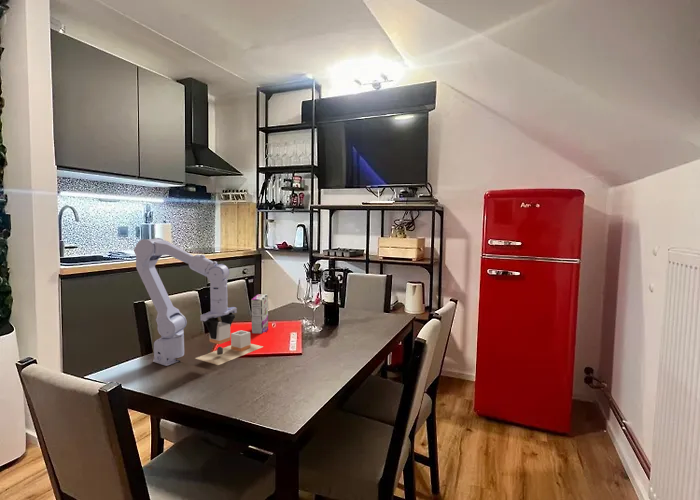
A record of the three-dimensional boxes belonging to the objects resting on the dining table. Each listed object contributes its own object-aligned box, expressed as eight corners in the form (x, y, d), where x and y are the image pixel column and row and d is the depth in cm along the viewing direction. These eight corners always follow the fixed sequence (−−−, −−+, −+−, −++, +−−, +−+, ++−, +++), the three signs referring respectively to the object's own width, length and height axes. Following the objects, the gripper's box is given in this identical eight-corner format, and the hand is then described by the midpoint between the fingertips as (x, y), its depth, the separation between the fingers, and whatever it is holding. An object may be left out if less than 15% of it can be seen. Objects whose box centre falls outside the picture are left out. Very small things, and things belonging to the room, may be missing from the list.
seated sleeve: (240, 351, 142) (240, 335, 142) (231, 349, 145) (231, 333, 144) (250, 347, 147) (250, 332, 146) (241, 345, 149) (240, 330, 149)
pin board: (218, 369, 129) (218, 355, 129) (194, 362, 135) (194, 348, 135) (263, 350, 148) (263, 337, 148) (241, 344, 154) (241, 332, 154)
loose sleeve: (219, 344, 133) (219, 327, 133) (209, 341, 136) (209, 325, 135) (230, 340, 137) (230, 323, 137) (220, 338, 140) (220, 321, 139)
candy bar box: (257, 329, 176) (257, 294, 174) (268, 329, 176) (268, 294, 174) (250, 336, 165) (250, 299, 163) (262, 337, 165) (262, 299, 163)
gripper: (210, 304, 127) (210, 344, 128) (242, 296, 140) (243, 333, 141) (195, 301, 131) (196, 340, 132) (228, 294, 143) (229, 330, 144)
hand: (219, 336), depth 136 cm, fingers closed on loose sleeve, 5 cm apart
